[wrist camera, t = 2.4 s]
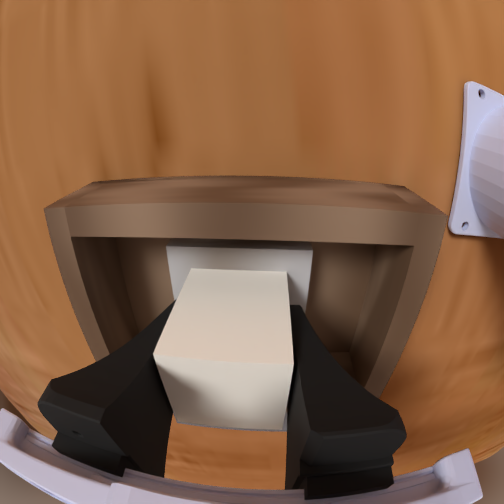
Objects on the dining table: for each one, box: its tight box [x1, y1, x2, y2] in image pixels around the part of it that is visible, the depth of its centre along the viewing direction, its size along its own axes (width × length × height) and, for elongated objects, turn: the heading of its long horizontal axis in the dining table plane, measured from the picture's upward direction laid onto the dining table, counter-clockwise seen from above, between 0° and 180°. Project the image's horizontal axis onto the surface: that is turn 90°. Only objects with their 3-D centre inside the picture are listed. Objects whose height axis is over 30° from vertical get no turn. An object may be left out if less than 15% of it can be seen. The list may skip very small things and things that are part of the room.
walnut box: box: [44, 176, 448, 412], centre depth 13 cm, size 15×11×4 cm
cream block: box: [153, 268, 294, 430], centre depth 11 cm, size 4×4×5 cm
